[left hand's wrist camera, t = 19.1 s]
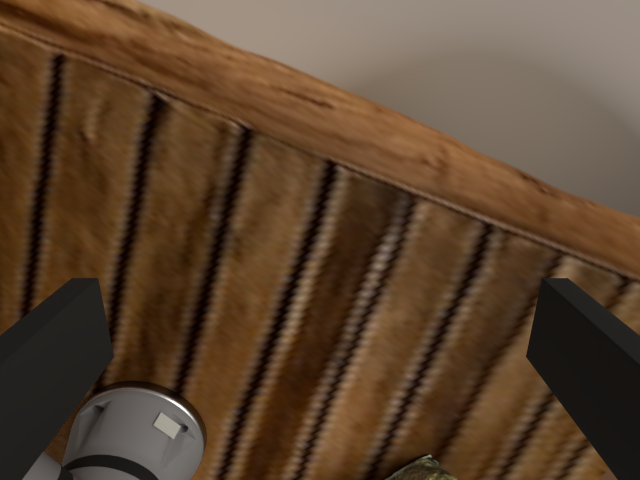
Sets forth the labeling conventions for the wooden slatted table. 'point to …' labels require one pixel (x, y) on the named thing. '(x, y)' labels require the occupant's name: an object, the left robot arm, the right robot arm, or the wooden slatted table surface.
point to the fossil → (422, 471)
